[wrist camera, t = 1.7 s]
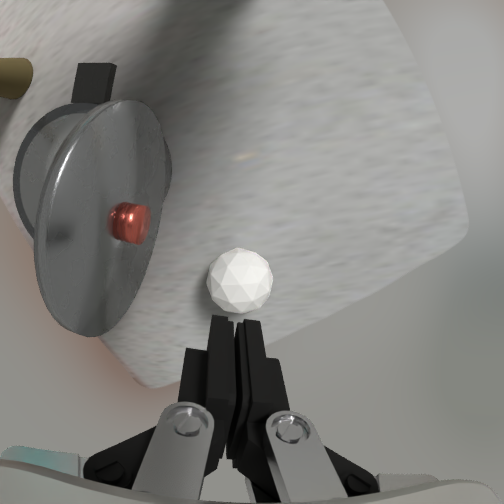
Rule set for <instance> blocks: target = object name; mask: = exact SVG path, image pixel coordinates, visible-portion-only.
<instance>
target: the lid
mask: <svg viewBox="0 0 504 504" xmlns="http://www.w3.org/2000/svg"><path fill="white" fill-rule="evenodd" d="M165 167H166V164H165V148H164V141H163V135H162V131H161V127H160V125H159V122H158V120H157V118H156V116H155V114H154V113H153V111H152V110H151V109H150V108H149V107H148V106H147V105H145V104H144V103H142V102H139V101H133V100H112V101H107V102H105V103H103V104H100V105H98V106H96V107H95V108H94V109H92V110H91V111H89V112H88V113H87V114H86V115H85V116H84V117H83V118H82V119H81V120H80V121H79V122H78V123H77V124H76V125H75V126H74V127H73V128H72V130H71V131H70V132H69V134H68V135H67V136H66V138H65V139H64V141H63V143H62V144H61V146H60V148H59V149H58V151H57V153H56V155H55V157H54V159H53V161H52V163H51V166H50V168H49V170H48V173H47V175H46V178H45V181H44V185H43V188H42V191H41V194H40V199H39V203H38V208H37V214H36V220H35V231H34V261H35V269H36V276H37V281H38V285H39V288H40V292H41V295H42V298H43V300H44V302H45V304H46V307H47V309H48V310H49V312H50V313H51V315H52V316H53V318H54V319H55V320H56V321H57V322H58V323H59V324H60V325H61V326H63V327H64V328H65V329H67V330H69V331H72V332H74V333H77V334H79V335H83V336H86V337H96V336H100V335H102V334H104V333H106V332H108V331H109V330H110V329H111V328H113V327H114V326H115V325H116V324H117V323H118V322H119V321H120V319H121V318H122V317H123V315H124V314H125V313H126V311H127V310H128V308H129V306H130V305H131V303H132V301H133V299H134V298H135V296H136V294H137V292H138V289H139V287H140V285H141V283H142V280H143V278H144V275H145V273H146V270H147V267H148V264H149V261H150V258H151V255H152V251H153V248H154V244H155V240H156V236H157V232H158V228H159V223H160V218H161V212H162V205H163V198H164V189H165Z"/></svg>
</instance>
